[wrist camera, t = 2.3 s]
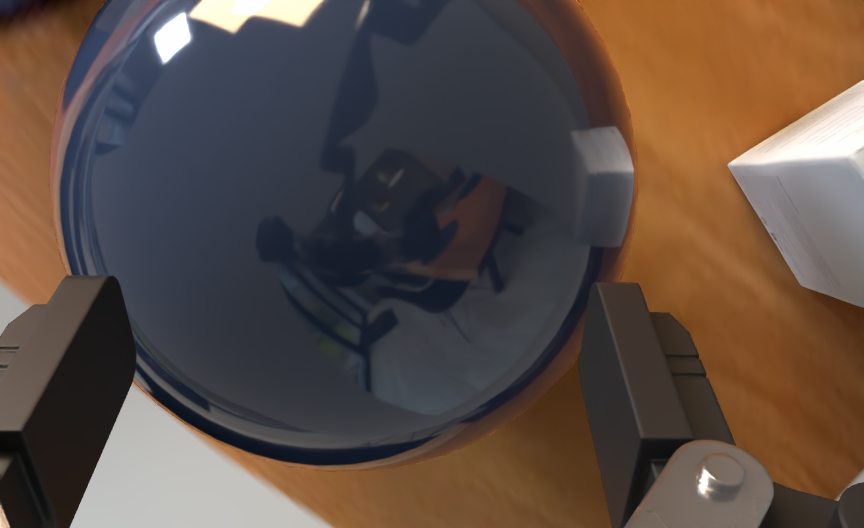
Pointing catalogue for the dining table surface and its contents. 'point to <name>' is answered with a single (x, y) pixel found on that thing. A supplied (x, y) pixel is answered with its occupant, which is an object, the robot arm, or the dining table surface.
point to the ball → (346, 212)
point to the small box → (814, 194)
